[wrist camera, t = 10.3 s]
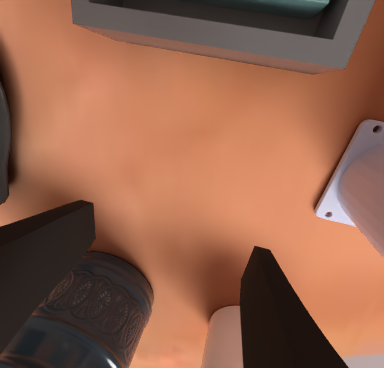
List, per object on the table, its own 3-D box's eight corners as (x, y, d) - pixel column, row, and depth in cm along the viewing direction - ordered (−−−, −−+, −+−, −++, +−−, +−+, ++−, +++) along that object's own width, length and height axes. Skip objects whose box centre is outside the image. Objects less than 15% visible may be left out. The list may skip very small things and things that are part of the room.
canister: (77, 231, 24) (-207, 486, 9) (172, 282, 25) (62, 610, 9) (60, 288, 30) (-128, 501, 15) (136, 329, 31) (34, 575, 15)
